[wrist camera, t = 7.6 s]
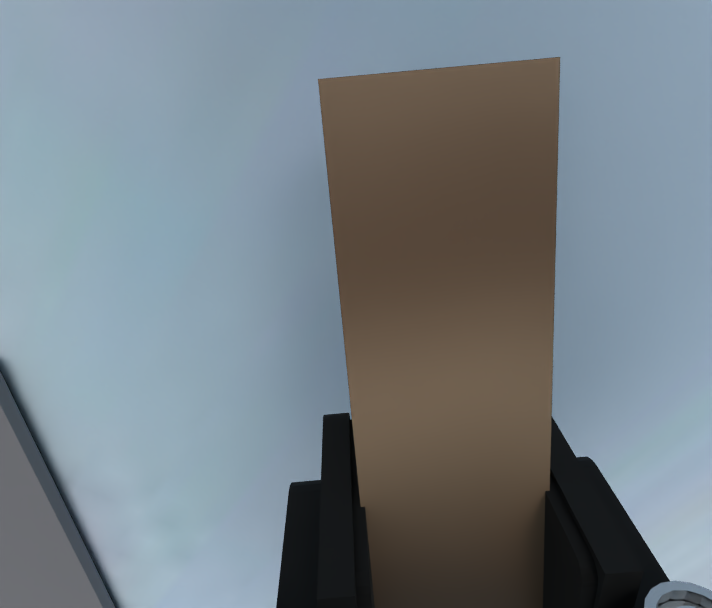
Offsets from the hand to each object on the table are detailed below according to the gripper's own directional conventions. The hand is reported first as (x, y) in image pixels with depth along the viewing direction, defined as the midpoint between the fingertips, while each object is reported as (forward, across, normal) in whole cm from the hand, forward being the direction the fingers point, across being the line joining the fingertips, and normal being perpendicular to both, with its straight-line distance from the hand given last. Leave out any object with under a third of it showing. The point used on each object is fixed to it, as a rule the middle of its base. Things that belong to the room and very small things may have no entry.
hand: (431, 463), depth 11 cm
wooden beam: (+1, 0, +2) cm, 2 cm away
